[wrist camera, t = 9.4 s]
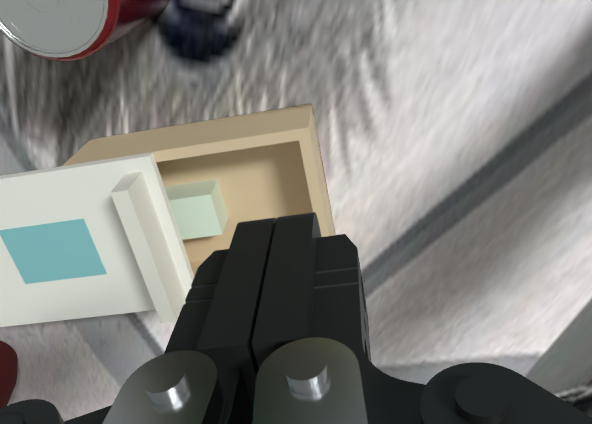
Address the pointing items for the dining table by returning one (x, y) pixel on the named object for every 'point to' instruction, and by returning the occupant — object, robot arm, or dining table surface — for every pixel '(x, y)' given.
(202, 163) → the open tan box
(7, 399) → the mug
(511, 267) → the dining table surface
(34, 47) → the soda can
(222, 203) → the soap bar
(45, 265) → the lid
